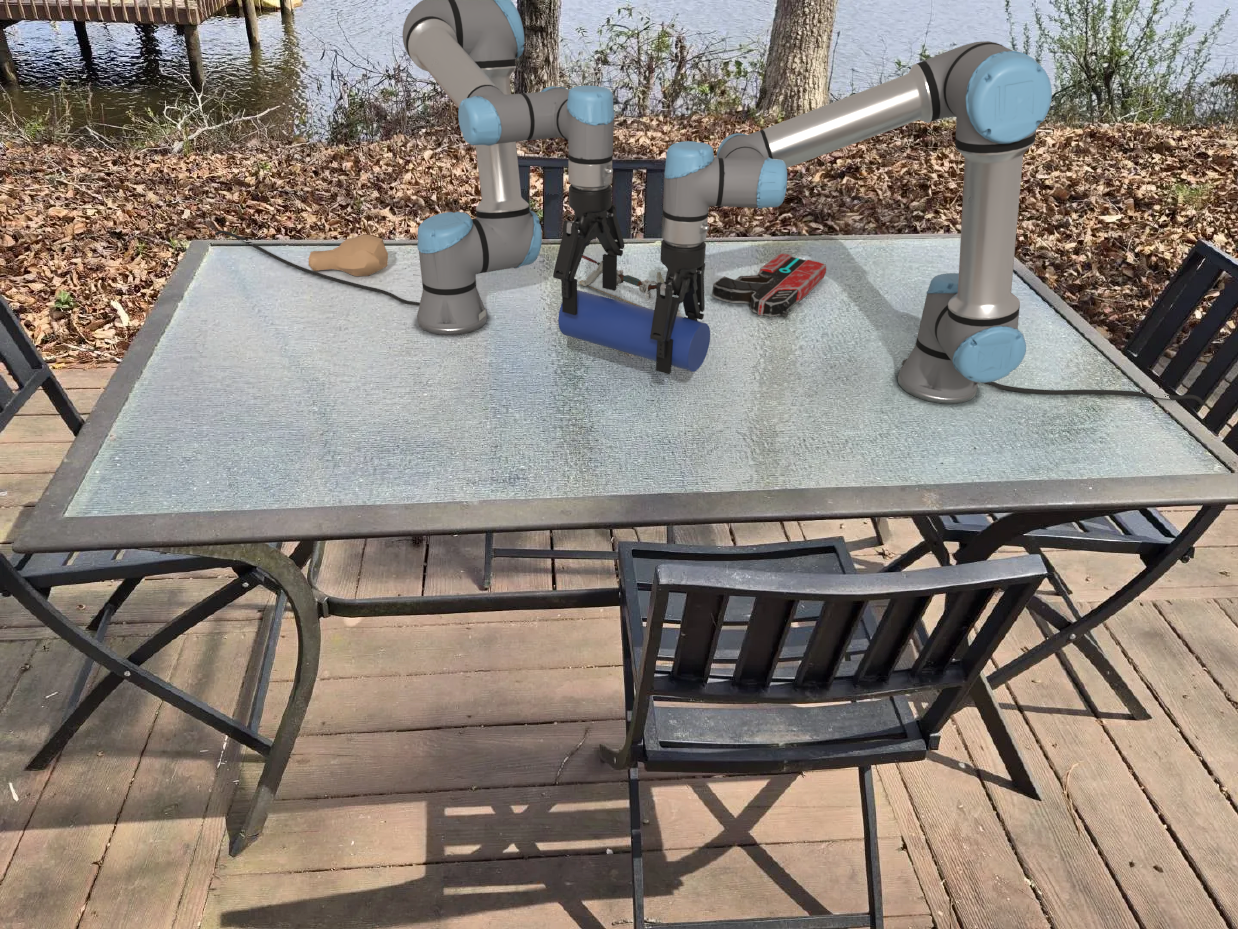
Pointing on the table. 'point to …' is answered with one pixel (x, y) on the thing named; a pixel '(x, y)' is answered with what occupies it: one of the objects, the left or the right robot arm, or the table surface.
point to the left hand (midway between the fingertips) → (590, 300)
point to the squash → (353, 256)
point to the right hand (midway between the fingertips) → (675, 361)
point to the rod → (633, 330)
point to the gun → (772, 285)
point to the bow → (643, 285)
